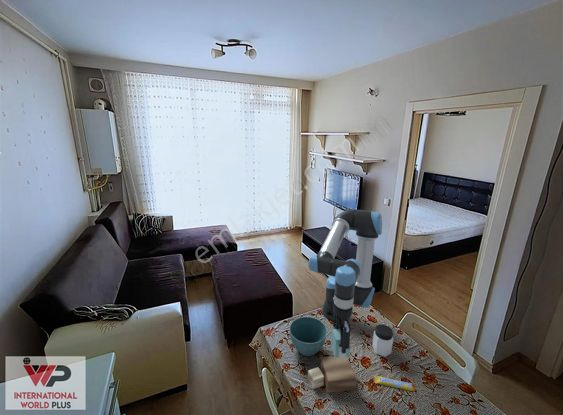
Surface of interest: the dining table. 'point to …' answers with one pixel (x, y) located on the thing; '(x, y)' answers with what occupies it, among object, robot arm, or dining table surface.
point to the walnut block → (338, 374)
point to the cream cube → (315, 378)
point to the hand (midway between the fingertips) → (339, 350)
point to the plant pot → (308, 335)
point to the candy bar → (394, 383)
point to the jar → (382, 340)
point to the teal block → (337, 343)
